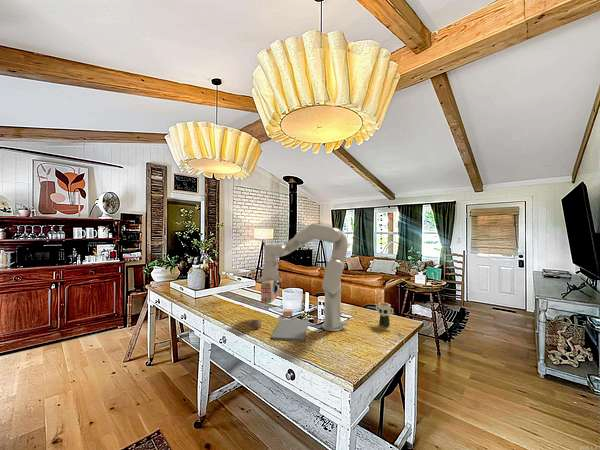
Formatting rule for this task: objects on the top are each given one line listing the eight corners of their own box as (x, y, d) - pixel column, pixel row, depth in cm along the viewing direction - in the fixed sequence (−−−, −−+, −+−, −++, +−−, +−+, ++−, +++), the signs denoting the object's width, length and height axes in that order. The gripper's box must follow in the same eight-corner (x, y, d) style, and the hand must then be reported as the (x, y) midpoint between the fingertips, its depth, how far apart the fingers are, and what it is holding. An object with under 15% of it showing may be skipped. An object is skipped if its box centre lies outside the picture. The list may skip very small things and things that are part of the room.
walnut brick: (261, 327, 159) (261, 320, 159) (258, 329, 155) (258, 322, 155) (251, 326, 160) (251, 319, 160) (248, 328, 156) (249, 321, 156)
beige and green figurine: (373, 324, 163) (373, 303, 163) (377, 321, 169) (377, 301, 169) (391, 329, 157) (391, 307, 157) (395, 325, 162) (395, 304, 163)
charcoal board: (308, 322, 167) (308, 320, 167) (304, 341, 139) (304, 338, 139) (280, 320, 169) (280, 318, 169) (271, 339, 141) (271, 337, 141)
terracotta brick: (291, 315, 180) (291, 309, 180) (292, 317, 176) (292, 311, 176) (282, 315, 179) (282, 309, 179) (283, 317, 175) (283, 311, 175)
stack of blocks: (270, 293, 181) (270, 276, 181) (279, 294, 180) (279, 276, 180) (261, 302, 159) (260, 282, 160) (271, 303, 158) (270, 282, 159)
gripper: (284, 263, 172) (284, 290, 172) (258, 263, 174) (258, 290, 174) (282, 264, 164) (282, 293, 164) (255, 264, 166) (255, 293, 166)
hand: (270, 291), depth 169 cm, fingers closed on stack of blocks, 6 cm apart
